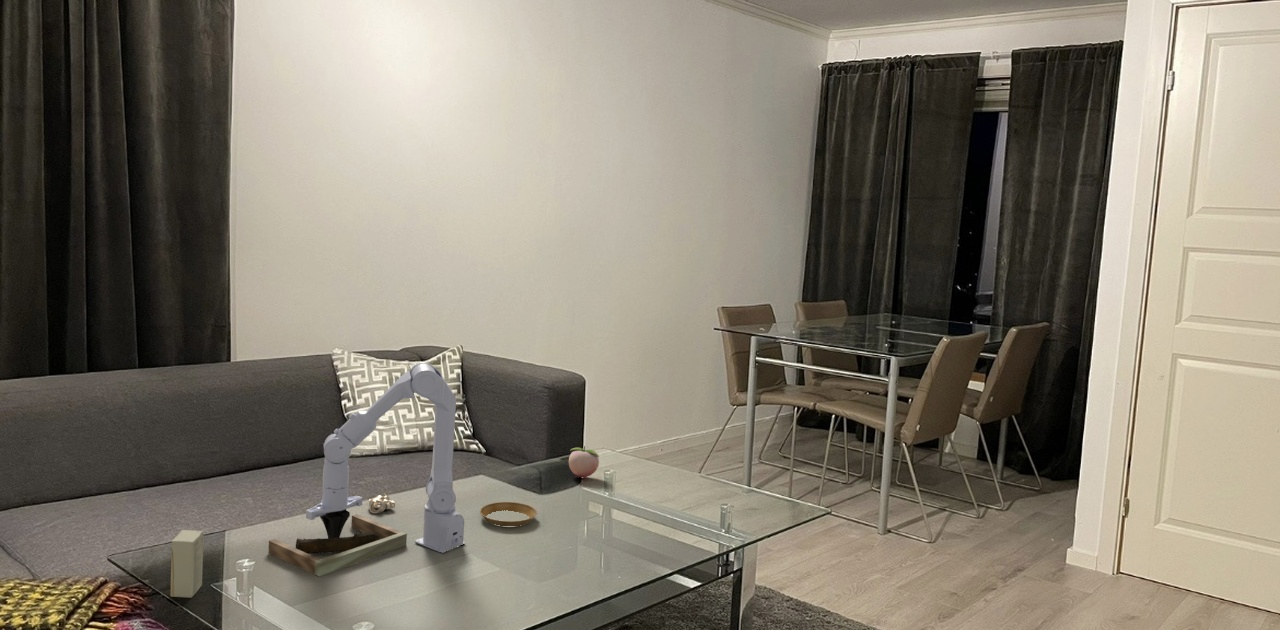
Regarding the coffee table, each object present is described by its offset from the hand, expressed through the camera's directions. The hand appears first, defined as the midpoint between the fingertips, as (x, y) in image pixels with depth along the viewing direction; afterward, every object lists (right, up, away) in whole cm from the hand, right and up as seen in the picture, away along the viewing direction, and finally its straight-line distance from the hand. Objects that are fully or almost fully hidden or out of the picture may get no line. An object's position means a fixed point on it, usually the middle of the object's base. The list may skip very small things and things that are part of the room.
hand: (333, 541), depth 231 cm
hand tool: (+2, -2, -2) cm, 4 cm away
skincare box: (-21, -4, -28) cm, 36 cm away
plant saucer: (+37, -1, +27) cm, 46 cm away
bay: (+2, -2, -1) cm, 2 cm away
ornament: (+4, +2, +27) cm, 27 cm away
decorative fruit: (+54, +4, +66) cm, 85 cm away
